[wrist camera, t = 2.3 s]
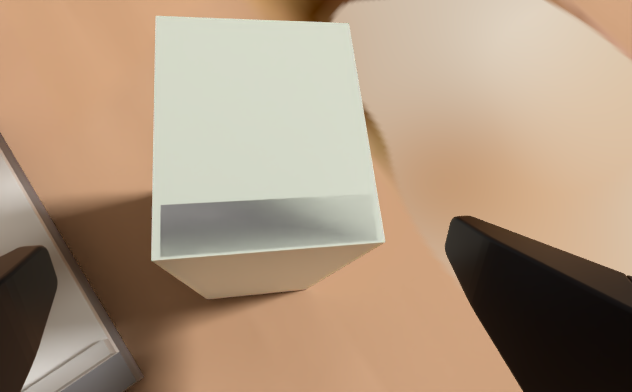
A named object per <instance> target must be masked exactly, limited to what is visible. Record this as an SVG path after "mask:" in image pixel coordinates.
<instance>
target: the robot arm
mask: <svg viewBox="0 0 632 392" xmlns="http://www.w3.org/2000/svg"><path fill="white" fill-rule="evenodd" d="M445 251H446V255H447V257H448V259H449V261H450V263H451V265H452V267H453V270H454V272H455V274H456V276H457V278H458V280H459V282H460V284H461V286H462V289H463V291H464V293H465V295H466V297H467V299H468V301H469V303H470V305H471V306H472V308H473V310H474V312H475V313H476V315H477V317H478V318H479V320H480V322H481V323H482V325H483V327H484V328H485V330H486V331H487V333H488V335H489V336H490V338H491V340H492V341H493V343H494V345H495V346H496V348H497V349H498V351H499V353H500V354H501V356H502V358H503V359H504V361H505V363H506V364H507V366H508V367H509V369H510V371H511V372H512V374H513V376H514V377H515V379H516V381H517V382H518V384H519V385H520V387H521V389H522V390H523V392H632V276H626V275H625V274H624V273H621V272H618V271H615V270H613V269H610V268H608V267H605V266H602V265H600V264H597V263H594V262H591V261H589V260H586V259H584V258H581V257H578V256H576V255H573V254H570V253H568V252H565V251H562V250H560V249H557V248H554V247H552V246H549V245H546V244H544V243H541V242H538V241H536V240H533V239H530V238H528V237H525V236H522V235H520V234H517V233H514V232H512V231H509V230H507V229H504V228H501V227H499V226H496V225H493V224H490V223H488V222H485V221H483V220H480V219H477V218H475V217H471V216H457V217H454V218H453V219H452V220H451V222H450V226H449V230H448V235H447V239H446V243H445ZM57 286H58V280H57V275H56V272H55V269H54V266H53V263H52V260H51V257H50V254H49V252H48V250H47V248H46V247H44V246H43V245H33V246H22V247H18V248H16V249H14V250H12V251H10V252H8V253H6V254H4V255H2V256H0V392H21V390H22V388H23V385H24V383H25V381H26V378H27V376H28V374H29V372H30V369H31V367H32V365H33V362H34V360H35V357H36V355H37V352H38V349H39V346H40V343H41V339H42V336H43V333H44V330H45V326H46V323H47V320H48V317H49V313H50V310H51V307H52V304H53V300H54V297H55V294H56V291H57Z"/></svg>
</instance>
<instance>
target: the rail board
mask: <svg viewBox="0 0 632 392" xmlns="http://www.w3.org/2000/svg"><path fill="white" fill-rule="evenodd" d="M33 245H43V246H44V247H46V248H47V250H48V252H49V254H50V257H51V260H52V263H53V266H54V269H55V272H56V275H57V280H58V286H57V291H56V294H55V297H54V300H53V304H52V307H51V310H50V313H49V317H48V320H47V323H46V326H45V330H44V333H43V336H42V339H41V343H40V346H39V349H38V352H37V355H36V357H35V360H34V362H33V365H32V367H31V369H30V372H29V374H28V376H27V378H26V381H25V383H24V385H23V388H22V390H21V392H124V391H125V390H127V389H128V388H130V387H131V386H132V385H134V384H135V383H137V382H138V381H139V380H141V379H142V378H144V376H143V374H142V372H141V371H140V369H139V367H138V366H137V364H136V362H135V361H134V359H133V357H132V355H131V354H130V352H129V350H128V349H127V347H126V345H125V344H124V342H123V340H122V338H121V337H120V335H119V333H118V332H117V330H116V328H115V327H114V325H113V323H112V321H111V320H110V318H109V316H108V315H107V313H106V311H105V310H104V308H103V306H102V304H101V303H100V301H99V299H98V298H97V296H96V294H95V293H94V291H93V289H92V287H91V286H90V284H89V282H88V281H87V279H86V277H85V276H84V274H83V272H82V271H81V269H80V267H79V265H78V264H77V262H76V260H75V259H74V257H73V255H72V254H71V252H70V250H69V248H68V247H67V245H66V243H65V242H64V240H63V238H62V237H61V235H60V233H59V231H58V230H57V228H56V226H55V225H54V223H53V221H52V220H51V218H50V216H49V214H48V213H47V211H46V209H45V208H44V206H43V204H42V203H41V201H40V199H39V197H38V196H37V194H36V192H35V191H34V189H33V187H32V186H31V184H30V182H29V180H28V179H27V177H26V175H25V174H24V172H23V170H22V169H21V167H20V165H19V164H18V162H17V160H16V158H15V157H14V155H13V153H12V152H11V150H10V148H9V147H8V145H7V143H6V141H5V140H4V138H3V136H2V135H1V133H0V256H2V255H4V254H6V253H8V252H10V251H12V250H14V249H16V248H18V247H22V246H33Z"/></svg>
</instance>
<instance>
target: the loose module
mask: <svg viewBox="0 0 632 392" xmlns="http://www.w3.org/2000/svg"><path fill="white" fill-rule="evenodd" d="M383 243H385V237H384V231H383V225H382V219H381V213H380V207H379V201H378V195H377V189H376V183H375V177H374V171H373V165H372V159H371V153H370V147H369V141H368V135H367V129H366V123H365V117H364V111H363V105H362V99H361V93H360V87H359V81H358V75H357V70H356V63H355V57H354V51H353V45H352V40H351V33H350V27H349V23H327V22H302V21H276V20H250V19H224V18H198V17H172V16H156V27H155V81H154V135H153V189H152V243H151V261H152V262H154V263H155V264H157V265H158V266H159V267H161V268H162V269H164V270H165V271H167V272H168V273H170V274H171V275H173V276H174V277H175V278H177V279H178V280H180V281H181V282H183V283H184V284H186V285H187V286H189V287H190V288H191V289H193V290H194V291H196V292H197V293H199V294H200V295H202V296H203V297H204V298H206V299H217V298H227V297H237V296H247V295H257V294H267V293H277V292H286V291H296V290H306V289H308V288H309V287H311V286H313V285H315V284H316V283H318V282H320V281H321V280H323V279H325V278H326V277H328V276H330V275H331V274H333V273H335V272H336V271H338V270H340V269H341V268H343V267H345V266H346V265H348V264H350V263H351V262H353V261H355V260H356V259H358V258H360V257H361V256H363V255H365V254H366V253H368V252H370V251H371V250H373V249H375V248H376V247H378V246H380V245H381V244H383Z"/></svg>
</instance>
